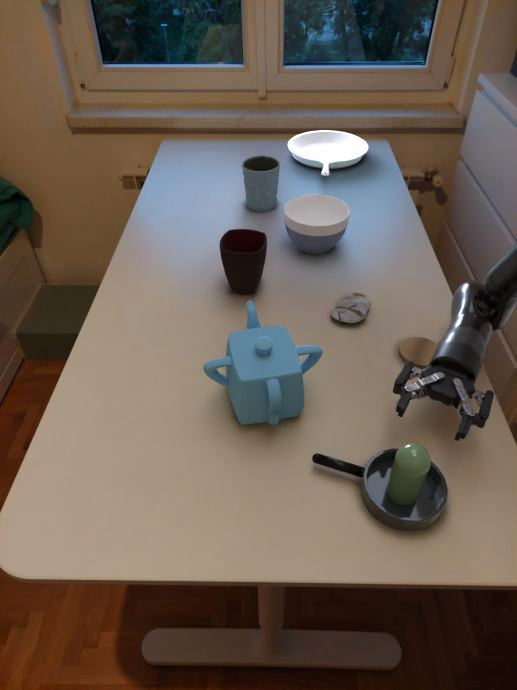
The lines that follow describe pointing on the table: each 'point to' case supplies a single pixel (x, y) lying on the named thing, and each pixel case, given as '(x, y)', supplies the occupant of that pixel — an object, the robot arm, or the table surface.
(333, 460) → the pan handle
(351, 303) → the stone
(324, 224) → the bowl
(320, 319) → the table surface
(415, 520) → the steel pan
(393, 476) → the green capsule
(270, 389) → the teapot
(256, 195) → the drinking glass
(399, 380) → the robot arm
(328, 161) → the pan
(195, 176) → the table surface
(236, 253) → the cup
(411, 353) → the disc
